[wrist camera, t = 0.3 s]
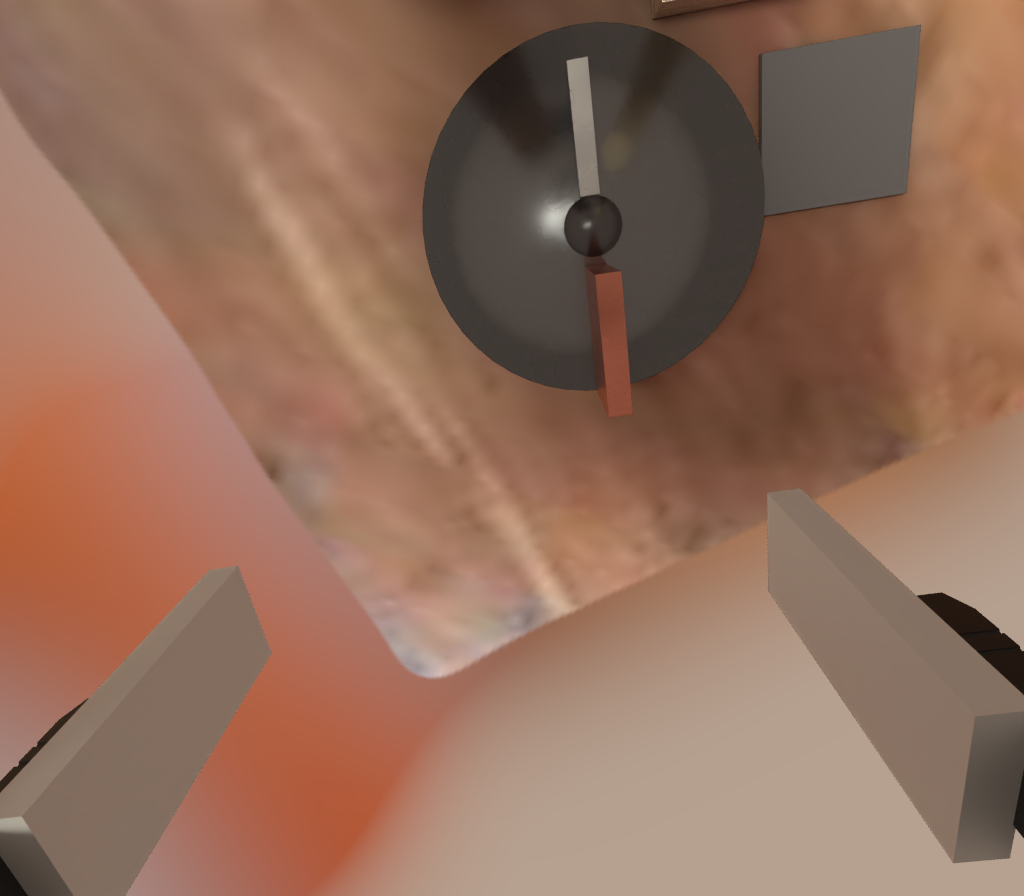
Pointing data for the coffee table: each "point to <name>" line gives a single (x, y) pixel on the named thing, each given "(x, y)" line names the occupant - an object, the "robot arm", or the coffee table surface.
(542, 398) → the coffee table surface
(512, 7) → the coffee table surface
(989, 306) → the coffee table surface
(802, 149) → the rest pad
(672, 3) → the grey square frame
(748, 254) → the compass
